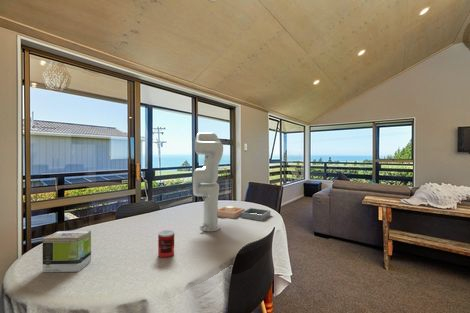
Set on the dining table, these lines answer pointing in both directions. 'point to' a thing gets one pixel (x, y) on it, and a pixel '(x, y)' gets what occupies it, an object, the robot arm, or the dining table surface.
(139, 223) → the dining table surface
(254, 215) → the bin
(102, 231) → the dining table surface
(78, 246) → the tea box
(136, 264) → the dining table surface
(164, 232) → the canned food
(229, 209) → the stone block
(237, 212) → the tub
